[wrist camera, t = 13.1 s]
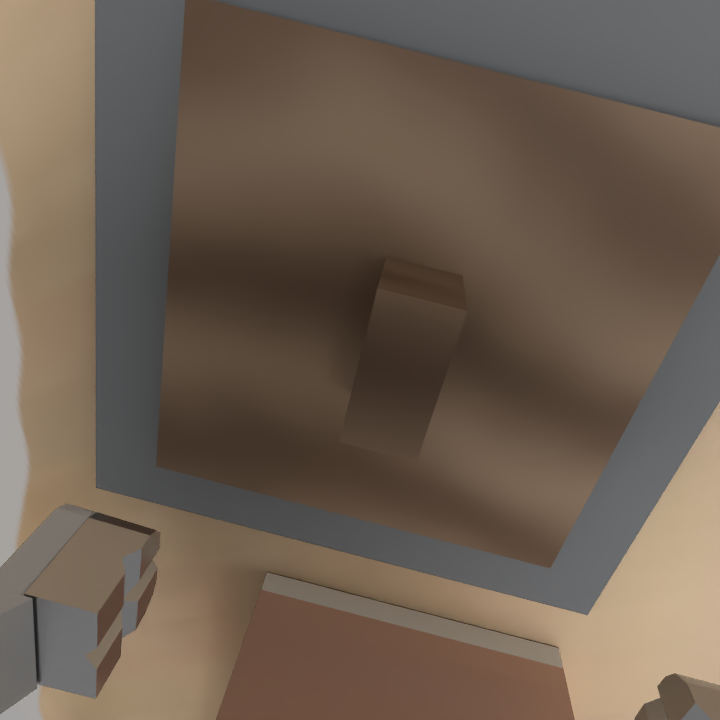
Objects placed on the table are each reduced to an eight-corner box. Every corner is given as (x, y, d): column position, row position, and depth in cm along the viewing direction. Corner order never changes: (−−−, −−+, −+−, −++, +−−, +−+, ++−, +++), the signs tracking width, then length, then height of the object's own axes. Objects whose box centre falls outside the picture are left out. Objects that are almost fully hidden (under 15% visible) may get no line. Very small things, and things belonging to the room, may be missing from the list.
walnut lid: (545, 549, 23) (566, 636, 19) (166, 451, 23) (117, 519, 19) (760, 139, 15) (859, 155, 12) (199, -1, 15) (128, -28, 12)
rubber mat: (584, 605, 24) (587, 615, 24) (102, 480, 24) (95, 487, 24) (926, 42, 14) (942, 41, 14) (105, -162, 14) (94, -169, 14)
